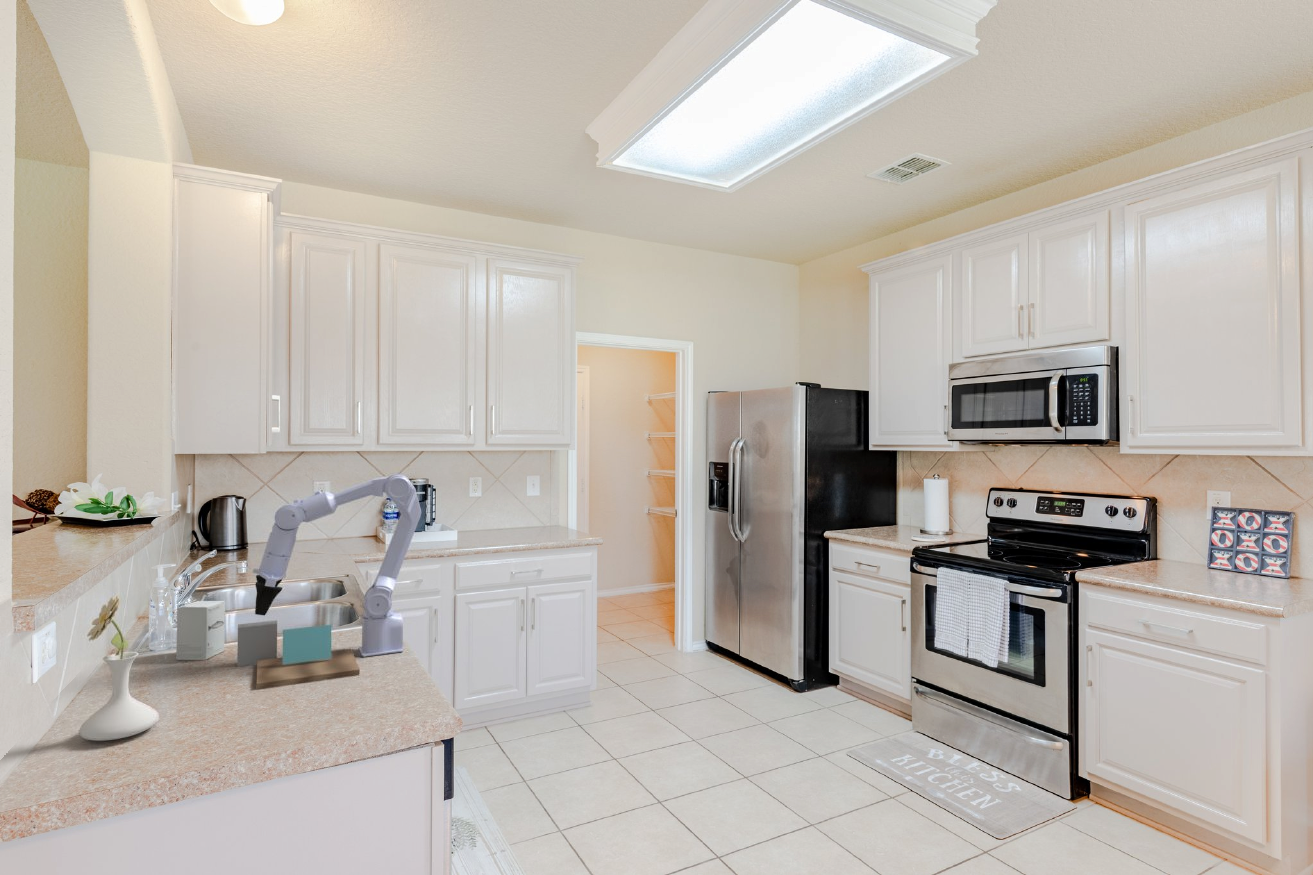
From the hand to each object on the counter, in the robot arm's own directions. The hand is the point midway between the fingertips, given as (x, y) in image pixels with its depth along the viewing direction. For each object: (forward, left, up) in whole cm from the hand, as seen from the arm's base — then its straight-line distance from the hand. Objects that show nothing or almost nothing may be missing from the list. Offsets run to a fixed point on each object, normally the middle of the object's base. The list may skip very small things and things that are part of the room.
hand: (260, 610), depth 166 cm
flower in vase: (+21, +35, -12) cm, 43 cm away
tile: (-10, +9, -7) cm, 15 cm away
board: (-10, +11, -12) cm, 19 cm away
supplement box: (+12, -13, -12) cm, 22 cm away
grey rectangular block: (0, -1, -12) cm, 12 cm away
